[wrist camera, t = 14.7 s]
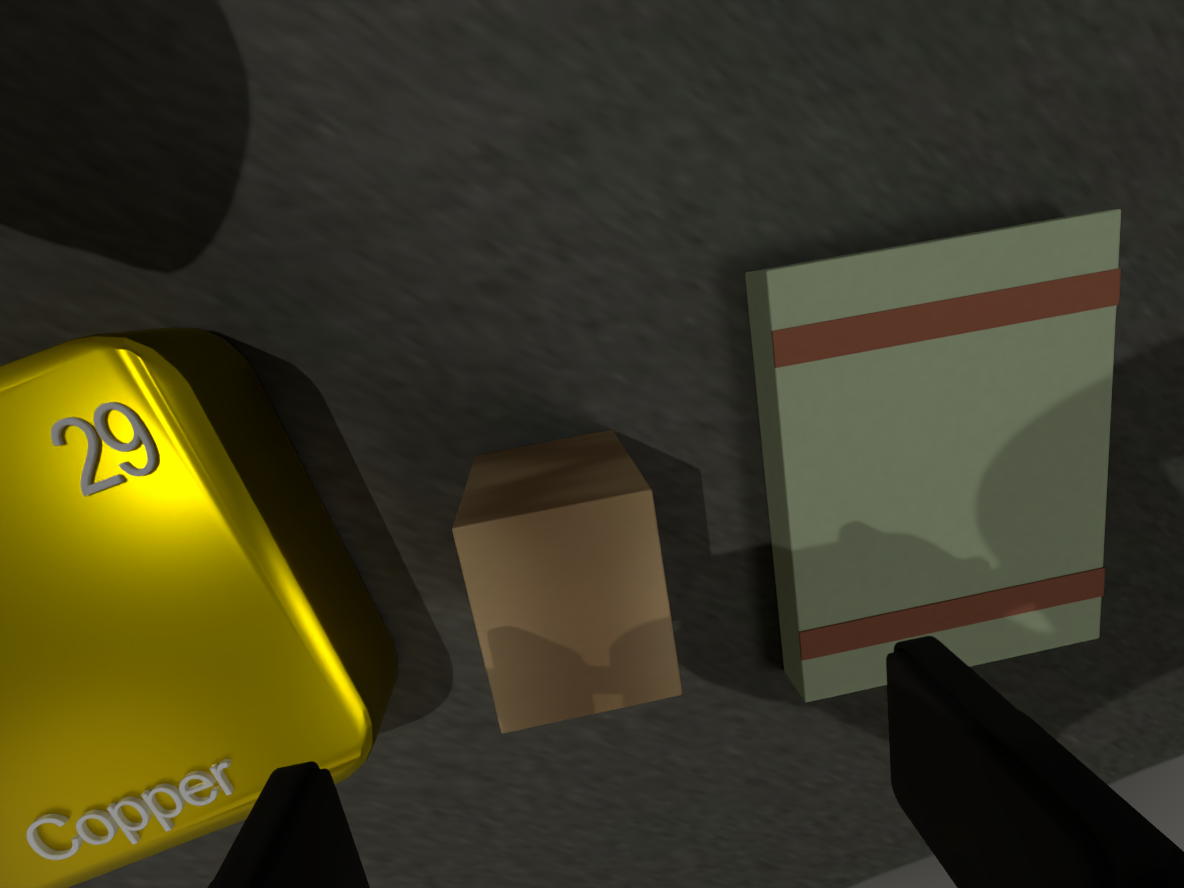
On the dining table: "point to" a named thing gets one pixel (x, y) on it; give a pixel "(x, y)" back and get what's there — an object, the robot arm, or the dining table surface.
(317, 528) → the element tile
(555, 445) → the block
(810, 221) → the dining table surface
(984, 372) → the towel
